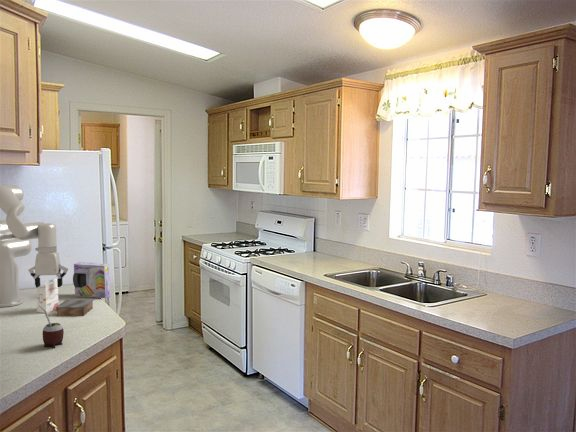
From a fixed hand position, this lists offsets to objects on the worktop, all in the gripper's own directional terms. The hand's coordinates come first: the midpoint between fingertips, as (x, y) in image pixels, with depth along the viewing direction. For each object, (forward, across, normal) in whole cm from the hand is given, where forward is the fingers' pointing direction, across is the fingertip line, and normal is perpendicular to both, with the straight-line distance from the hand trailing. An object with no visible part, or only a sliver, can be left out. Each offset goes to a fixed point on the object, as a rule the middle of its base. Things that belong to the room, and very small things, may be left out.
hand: (48, 286), depth 219 cm
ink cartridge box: (+12, -1, 0) cm, 12 cm away
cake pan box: (+12, +10, +26) cm, 30 cm away
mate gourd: (+13, +19, -44) cm, 50 cm away
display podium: (+12, +12, -2) cm, 17 cm away
